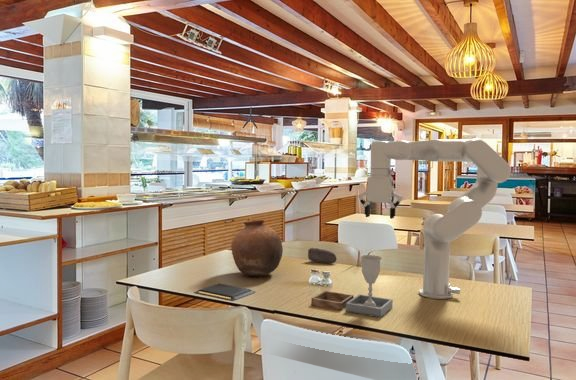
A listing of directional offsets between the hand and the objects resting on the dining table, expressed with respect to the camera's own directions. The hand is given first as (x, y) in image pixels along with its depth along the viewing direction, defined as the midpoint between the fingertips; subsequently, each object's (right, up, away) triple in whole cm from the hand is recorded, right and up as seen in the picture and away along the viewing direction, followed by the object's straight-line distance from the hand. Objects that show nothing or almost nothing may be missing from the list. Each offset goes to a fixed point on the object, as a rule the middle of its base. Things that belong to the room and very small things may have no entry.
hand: (379, 217), depth 186 cm
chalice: (-7, -31, -17) cm, 36 cm away
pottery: (-49, -28, +31) cm, 65 cm away
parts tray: (-7, -31, -18) cm, 37 cm away
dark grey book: (-60, -30, +2) cm, 67 cm away
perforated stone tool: (-18, -26, +57) cm, 65 cm away
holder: (-19, -31, -11) cm, 38 cm away
